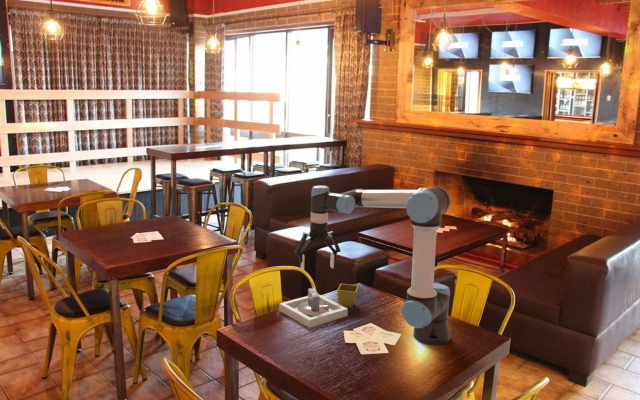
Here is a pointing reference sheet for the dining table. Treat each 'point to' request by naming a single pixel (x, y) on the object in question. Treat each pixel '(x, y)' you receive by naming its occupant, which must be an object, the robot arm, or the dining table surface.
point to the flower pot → (347, 295)
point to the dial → (313, 304)
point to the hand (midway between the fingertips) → (317, 268)
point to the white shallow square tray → (309, 321)
